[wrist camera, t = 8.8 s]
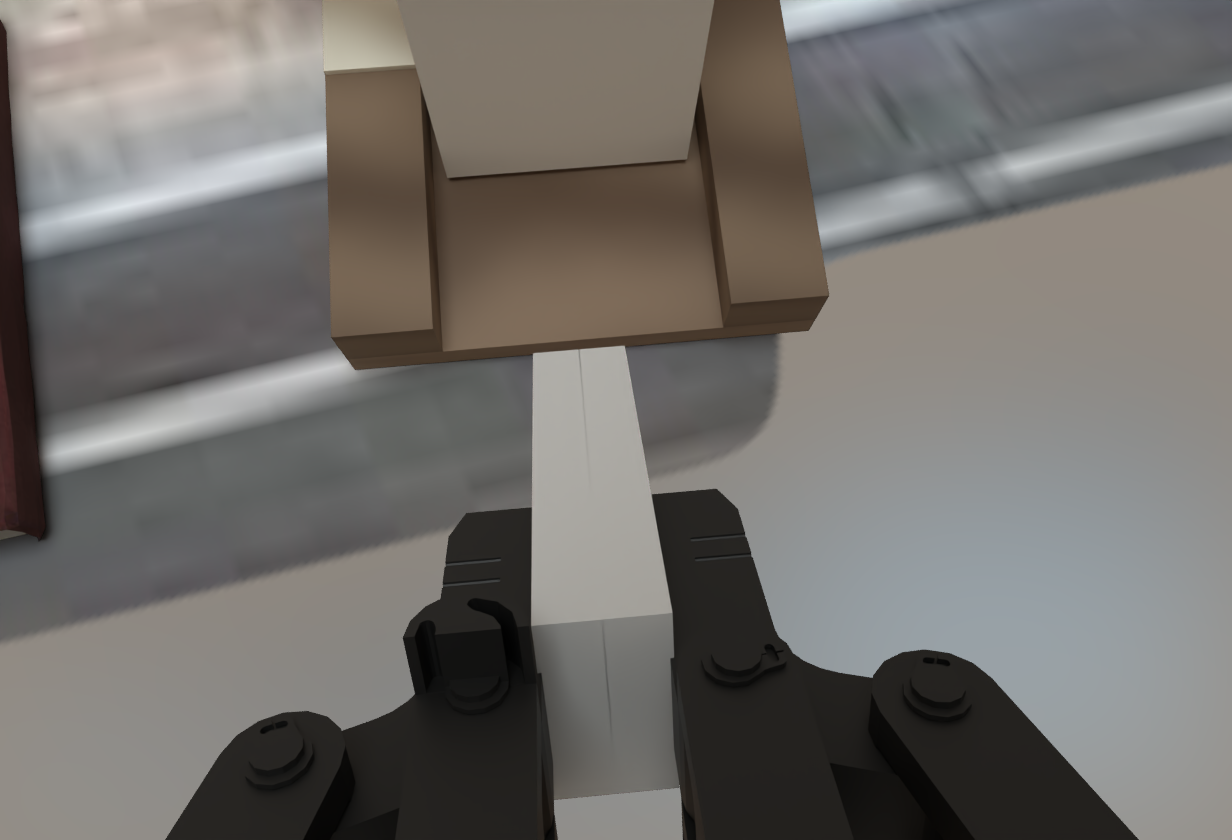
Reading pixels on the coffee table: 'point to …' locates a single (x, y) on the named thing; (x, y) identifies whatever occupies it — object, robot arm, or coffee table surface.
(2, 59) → the book
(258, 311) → the coffee table surface
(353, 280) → the dark open tray
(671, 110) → the beige upright block
